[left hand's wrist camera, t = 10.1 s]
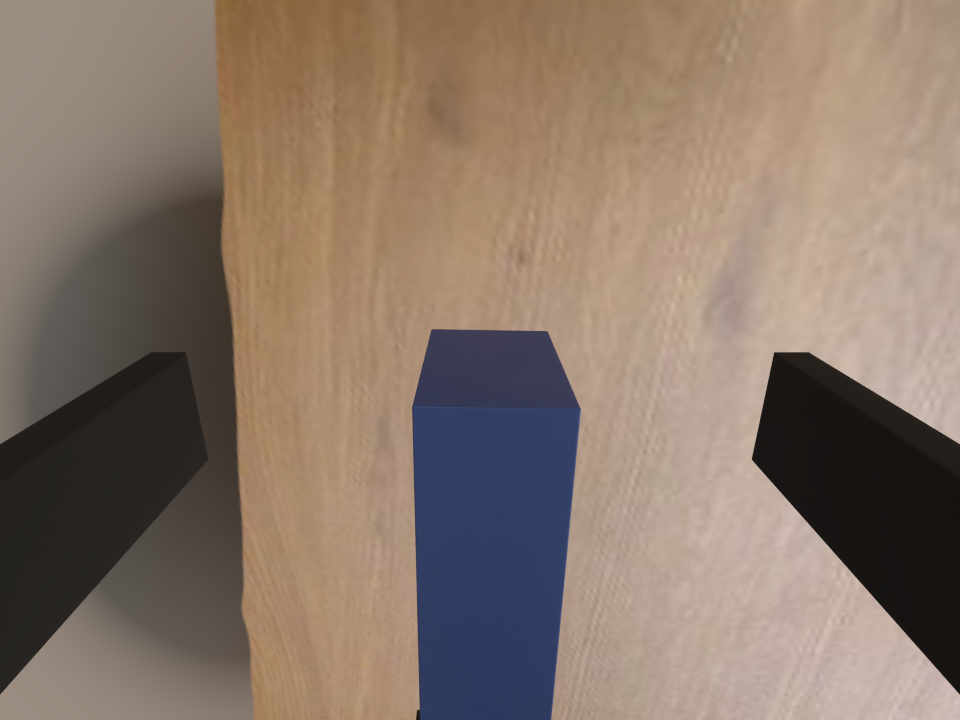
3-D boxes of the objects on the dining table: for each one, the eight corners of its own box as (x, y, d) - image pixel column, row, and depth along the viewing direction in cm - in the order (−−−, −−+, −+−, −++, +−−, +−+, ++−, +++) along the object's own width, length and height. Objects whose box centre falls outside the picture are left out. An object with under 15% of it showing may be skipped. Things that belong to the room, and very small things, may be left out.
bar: (431, 328, 27) (412, 406, 18) (547, 330, 27) (581, 409, 18) (435, 687, 35) (423, 851, 27) (523, 687, 35) (538, 851, 27)
